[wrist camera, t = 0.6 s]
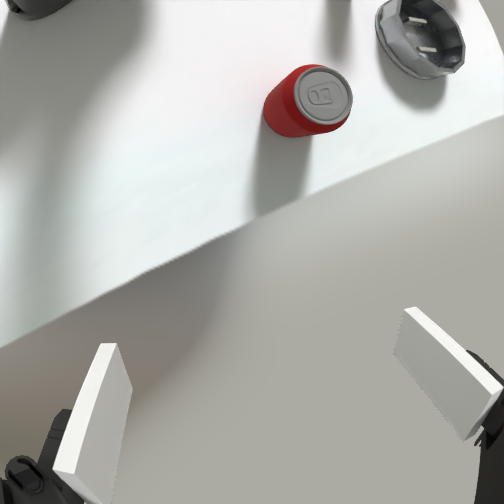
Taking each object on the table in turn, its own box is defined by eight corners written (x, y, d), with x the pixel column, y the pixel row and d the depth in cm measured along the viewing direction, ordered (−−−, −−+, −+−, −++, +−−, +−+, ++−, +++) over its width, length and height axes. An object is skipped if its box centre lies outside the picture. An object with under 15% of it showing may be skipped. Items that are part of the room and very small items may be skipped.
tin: (363, -4, 29) (380, -18, 24) (430, 7, 30) (449, -2, 25) (390, 79, 34) (412, 72, 29) (453, 81, 34) (475, 77, 29)
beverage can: (320, 133, 35) (366, 127, 24) (269, 142, 35) (297, 138, 24) (308, 82, 33) (349, 57, 22) (256, 90, 33) (278, 63, 21)
